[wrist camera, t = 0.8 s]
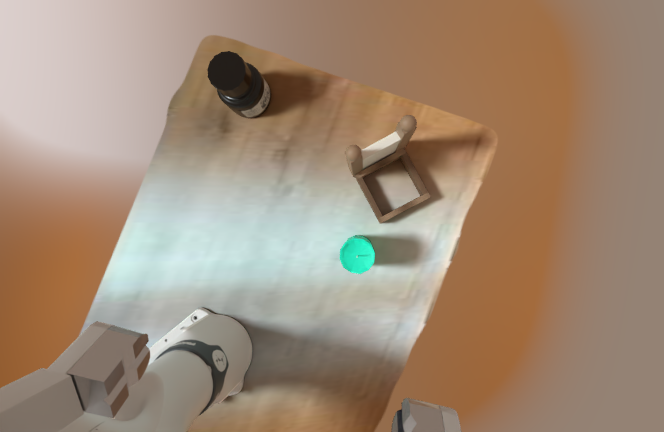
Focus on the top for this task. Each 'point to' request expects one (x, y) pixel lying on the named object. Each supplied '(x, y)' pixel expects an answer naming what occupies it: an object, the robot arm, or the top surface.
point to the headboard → (381, 146)
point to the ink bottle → (239, 84)
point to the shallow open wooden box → (412, 173)
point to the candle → (357, 254)
